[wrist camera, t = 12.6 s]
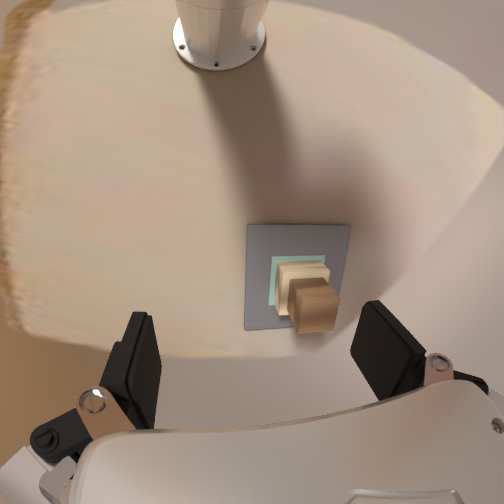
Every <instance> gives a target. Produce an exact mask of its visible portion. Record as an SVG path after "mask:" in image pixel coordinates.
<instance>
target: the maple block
mask: <svg viewBox="0 0 504 504" xmlns="http://www.w3.org/2000/svg"><path fill="white" fill-rule="evenodd" d="M329 275H330V270H329V269H328V268H327V267H326V266H325V265H324V264H323V262H322V261H321V260H305V261H277V265H276V277H275V289H274V301H273V302H274V304H275V307H276V309H277V312H278V314H279V315H289V313H288V311H287V303H288V293H289V283H290V279H302V278H320V277H323V278H324V279H325V280H326V281H327V283H328V281H329Z"/></svg>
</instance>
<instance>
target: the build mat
mask: <svg viewBox="0 0 504 504" xmlns="http://www.w3.org/2000/svg"><path fill="white" fill-rule="evenodd" d="M349 233H350V226H348V225H295V224H247V252H246V282H245V315H244V330H253V329H269V328H283V327H295V326H294V324H293V322H292V320H291V318H290V315H279V314H278V312H277V309H276V307H275V304H274V302H273V301H274V289H275V277H276V265H277V261H305V260H321V261H322V262H323V264H324V265H325V266H326V267H327V268H328V269H329V270H330V275H329V281H328V284H329V285H330V286H331V288H332V289H333V290H334V291H335V293H336V294H337V295H339V290H340V285H341V280H342V275H343V269H344V264H345V258H346V252H347V246H348V239H349Z"/></svg>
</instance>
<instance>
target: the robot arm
mask: <svg viewBox="0 0 504 504" xmlns="http://www.w3.org/2000/svg"><path fill="white" fill-rule="evenodd" d="M269 1H270V0H175V2H176V6H177V10H178V14H179V18H178V19H177V21H176V23H175V25H174V29H173V42H174V46H175V48H176V51H177V52H178V53H179V55H180V56H181V57H182V58H183V59H184V60H185V61H186V62H188V63H190V64H191V65H193V66H195V67H198V68H201V69H205V70H213V71H221V70H229V69H233V68H236V67H239V66H241V65H243V64H245V63H247V62H248V61H250V60H251V59H252V58H253V57H254V56H255V55H256V54H257V53H258V52H259V50H260V49H261V47H262V45H263V43H264V39H265V26H264V23H263V20H262V16H263V14H264V12H265V10H266V7H267V5H268V3H269ZM182 48H184V49H183V50H181V49H182ZM251 49H254V50H255V51H252V50H251ZM215 64H218V66H217V67H216V66H215ZM350 352H351V356H352V358H353V359H354V361H355V362H356V364H357V366H358V367H359V369H360V370H361V372H362V374H363V375H364V377H365V379H366V380H367V382H368V384H369V385H370V387H371V388H372V390H373V392H374V393H375V395H376V397H377V398H378V400H379V401H378V402H375V403H371V404H368V405H364V406H361V407H357V408H353V409H349V410H345V411H341V412H337V413H332V414H327V415H323V416H317V417H312V418H307V419H301V420H295V421H289V422H281V423H274V424H266V425H257V426H246V427H233V428H212V429H211V428H210V429H154V422H155V413H156V405H157V397H158V390H159V383H160V376H161V369H162V365H161V359H160V355H159V350H158V346H157V341H156V336H155V331H154V325H153V320H152V316H151V315H147V312H133V313H132V315H131V318H130V320H129V323H128V325H127V328H126V331H125V333H124V336H123V339H122V341H121V342H118V341H117V342H115V344H114V346H113V348H112V351H111V353H110V356H109V359H108V361H107V364H106V367H105V370H104V372H103V375H102V378H101V381H100V384H99V386H90V387H87V388H85V389H83V390H81V391H80V392H79V393H78V394H77V396H76V398H75V406H76V408H74V409H72V410H70V411H69V412H66V413H65V414H63V415H61V416H59V417H57V418H55V419H53V420H51V421H49V422H47V423H45V424H43V425H40V426H39V427H37V428H36V429H35V430H34V431H33V432H32V434H31V437H30V444H31V445H30V446H28V447H27V448H26V447H25V446H24V447H23V448H21V450H19V451H18V452H17V453H16V454H15V455H14V456H13V457H12V458H11V459H10V460H9V461H8V462H7V463H6V464H5V465H4V466H3V467H1V468H0V490H1V491H2V493H3V494H4V496H5V497H6V498H7V499H8V501H9V502H10V503H11V504H61V503H60V500H59V497H60V493H61V491H62V490H63V489H64V488H65V487H66V486H65V485H64V484H65V483H66V482H67V481H68V480H69V479H73V480H72V485H71V490H70V496H69V502H68V504H504V396H502V395H501V394H499V393H497V392H495V391H493V390H492V389H491V390H490V392H489V389H488V386H487V384H486V383H485V381H484V380H483V379H481V378H478V377H475V376H472V375H468V374H465V373H461V372H458V371H454V370H453V364H452V362H451V360H450V359H448V357H446V356H445V355H442V354H439V353H432V354H430V355H428V356H427V358H426V357H425V353H426V350H425V349H424V347H422V345H421V344H420V343H419V342H418V341H417V340H416V339H415V338H414V337H413V335H411V333H410V332H409V331H408V330H407V329H406V328H405V327H404V326H403V325H402V324H401V323H400V321H399V320H398V319H397V318H396V317H395V316H394V315H393V314H392V313H391V312H390V311H389V310H388V309H387V308H386V307H385V306H384V305H383V304H382V303H381V302H380V301H379V300H375V301H368V302H366V304H365V305H364V306H363V308H362V311H361V315H360V318H359V322H358V326H357V329H356V333H355V336H354V339H353V342H352V346H351V349H350Z"/></svg>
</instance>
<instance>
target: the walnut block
mask: <svg viewBox="0 0 504 504" xmlns="http://www.w3.org/2000/svg"><path fill="white" fill-rule="evenodd" d="M339 301H340V298H339V296H338V295H337V294H336V293H335V291H334V290H333V289H332V288H331V286H330V285H329V284H328V283H327V281H326V280H325V279H324V278H323V277H320V278H302V279H290V283H289V293H288V303H287V311H288V313H289V315H290V318H291V320H292V322H293V324H294V326H295V329H296V331H297V333H298V334H304V333H313V332H321V331H329V330H333V328H334V324H335V319H336V315H337V310H338V306H339Z"/></svg>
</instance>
